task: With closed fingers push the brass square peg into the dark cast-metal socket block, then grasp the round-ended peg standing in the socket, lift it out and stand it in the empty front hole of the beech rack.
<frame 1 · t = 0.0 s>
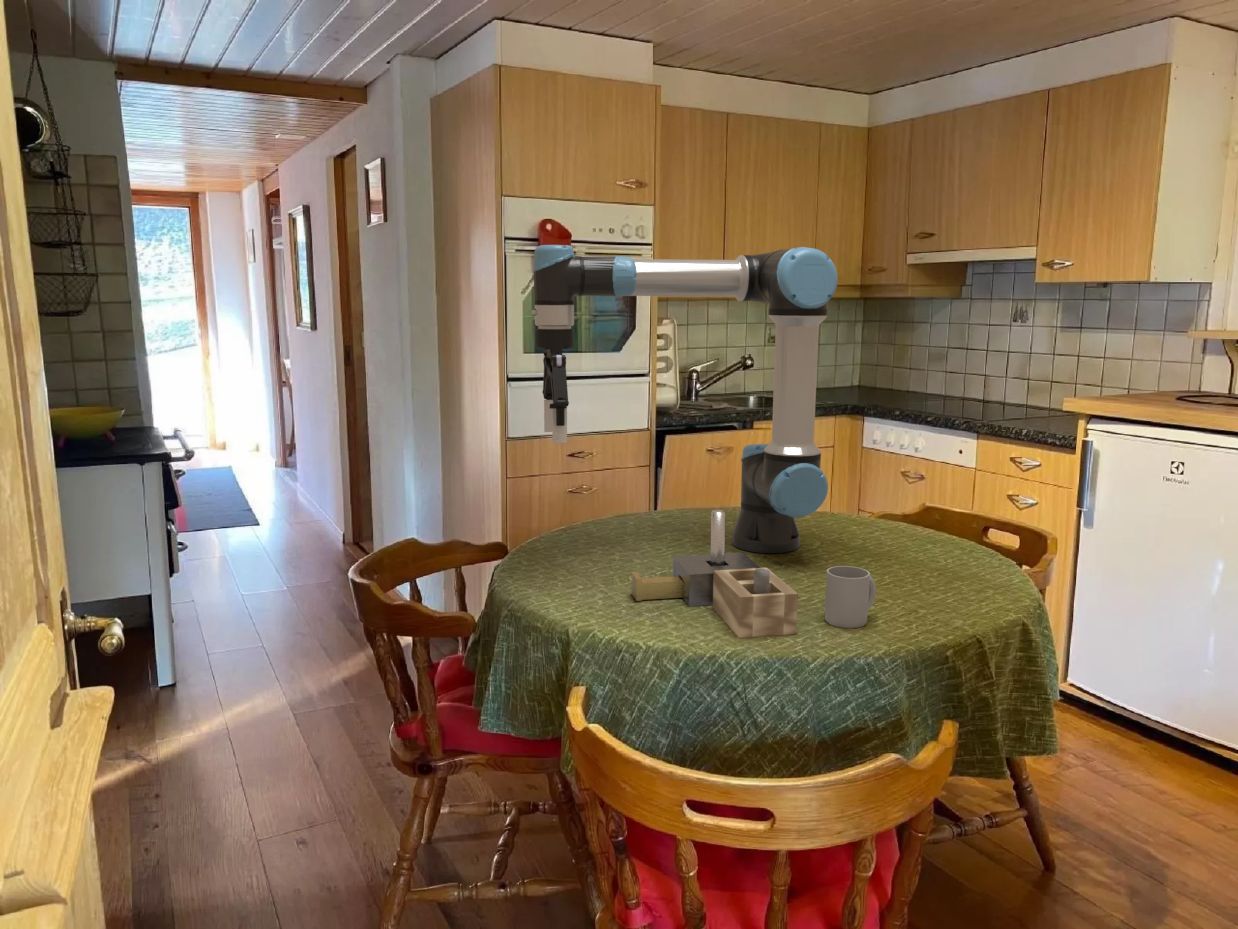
hand: (555, 437, 181), 28 cm above the table, fingers open, 13 cm apart
socket block: (716, 593, 175), on the table
rack: (752, 620, 161), on the table
cup: (851, 621, 161), on the table
brass square peg: (660, 585, 172), point 2 cm above the table, slide at 0.0 cm
round-ended peg: (717, 552, 173), in the socket block
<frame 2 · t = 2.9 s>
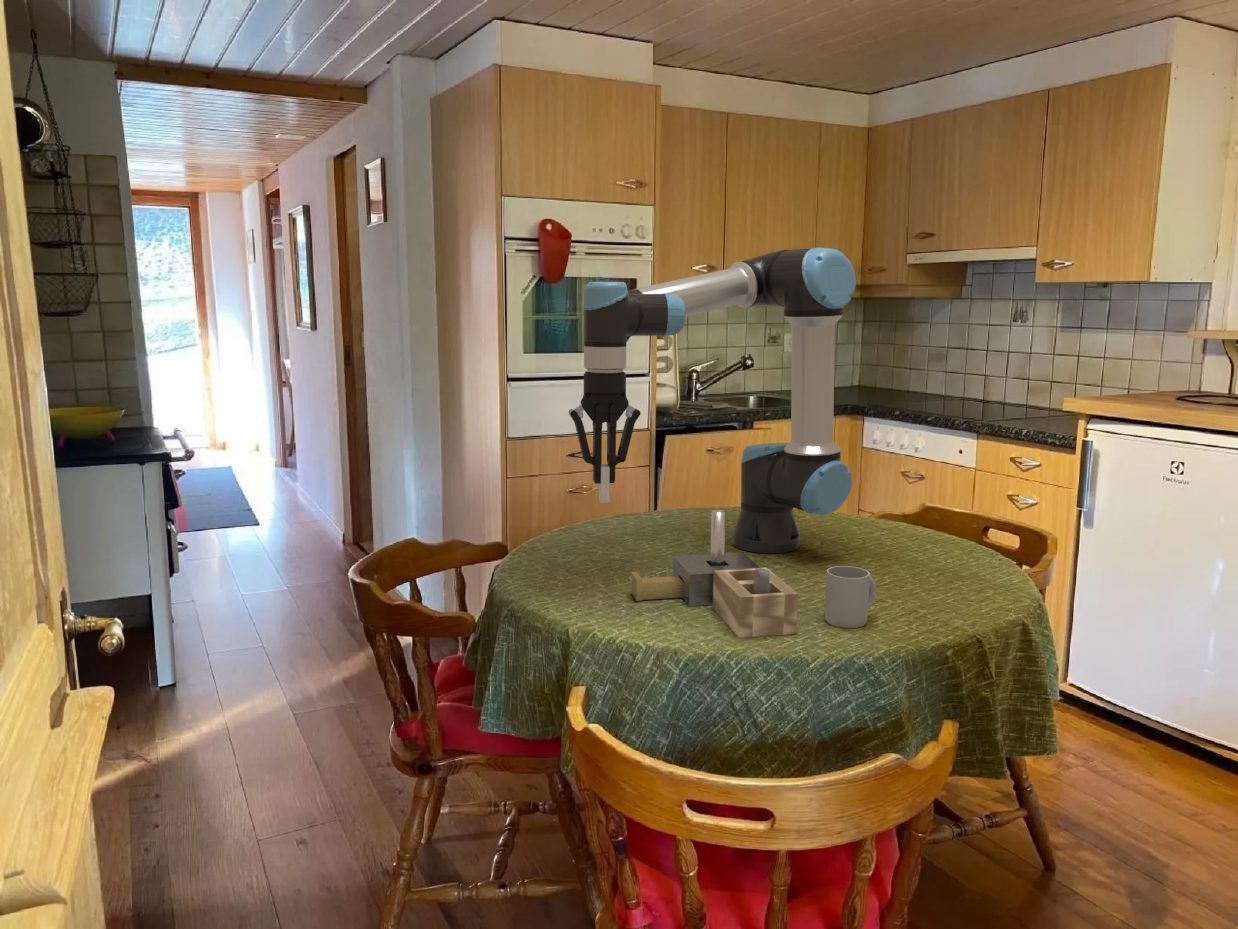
hand: (603, 500, 167), 19 cm above the table, fingers closed
nothing on the table moved.
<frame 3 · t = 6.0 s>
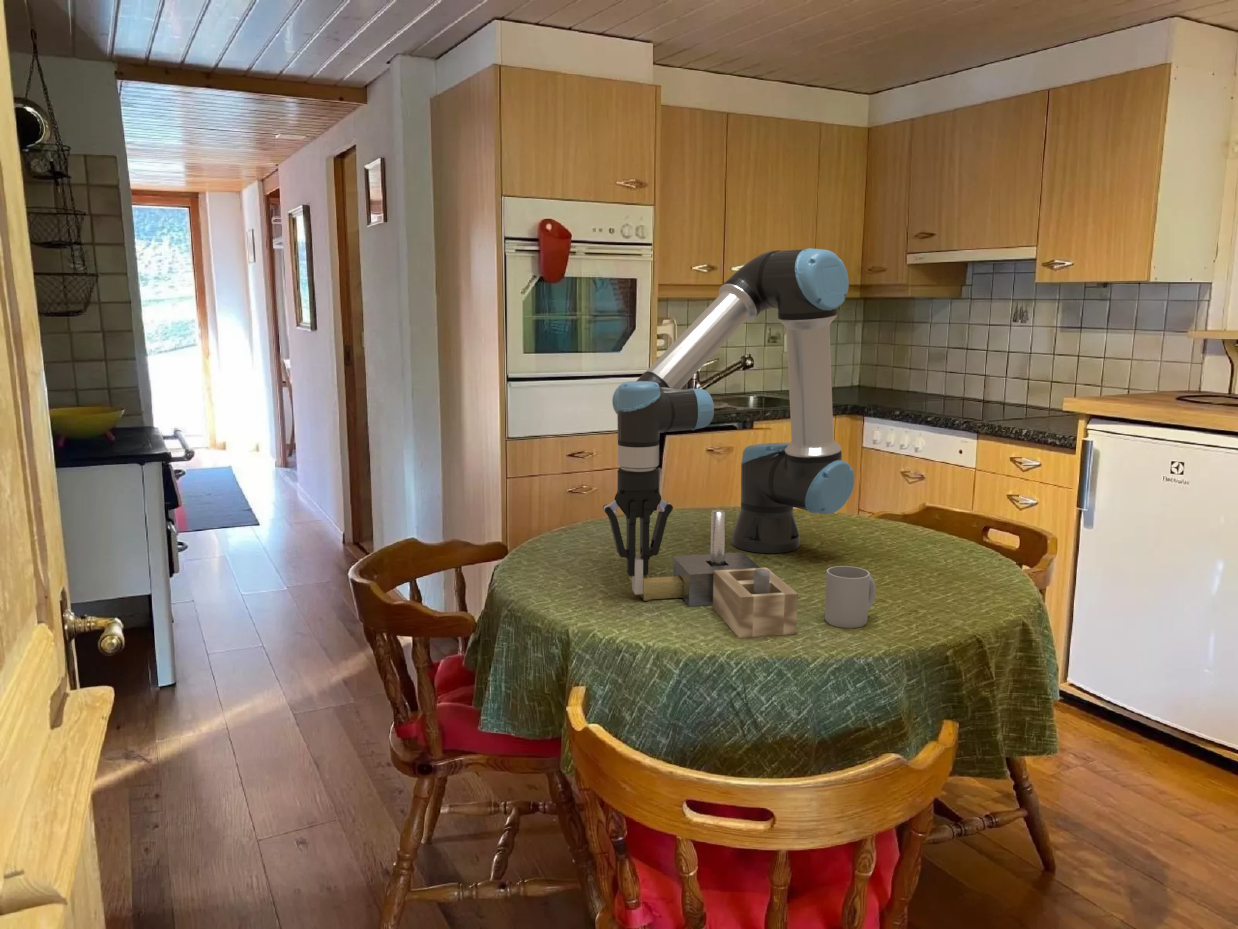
hand: (637, 591, 172), 1 cm above the table, fingers closed
brass square peg: (667, 584, 172), point 2 cm above the table, slide at 1.5 cm, touching gripper
everything else where it was.
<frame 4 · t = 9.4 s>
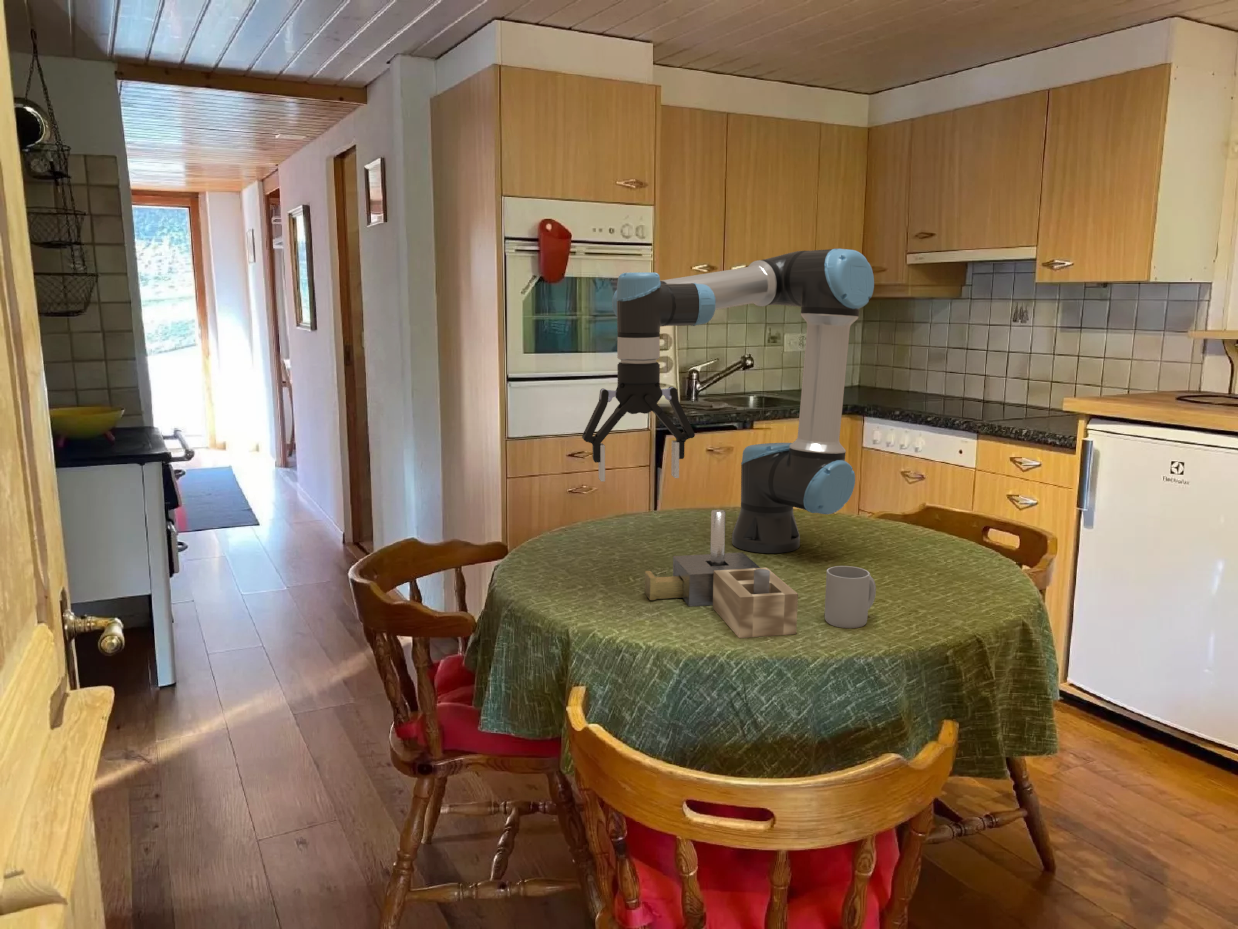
hand: (638, 478, 168), 23 cm above the table, fingers open, 13 cm apart
brass square peg: (673, 584, 173), point 2 cm above the table, slide at 2.6 cm
everything else where it was.
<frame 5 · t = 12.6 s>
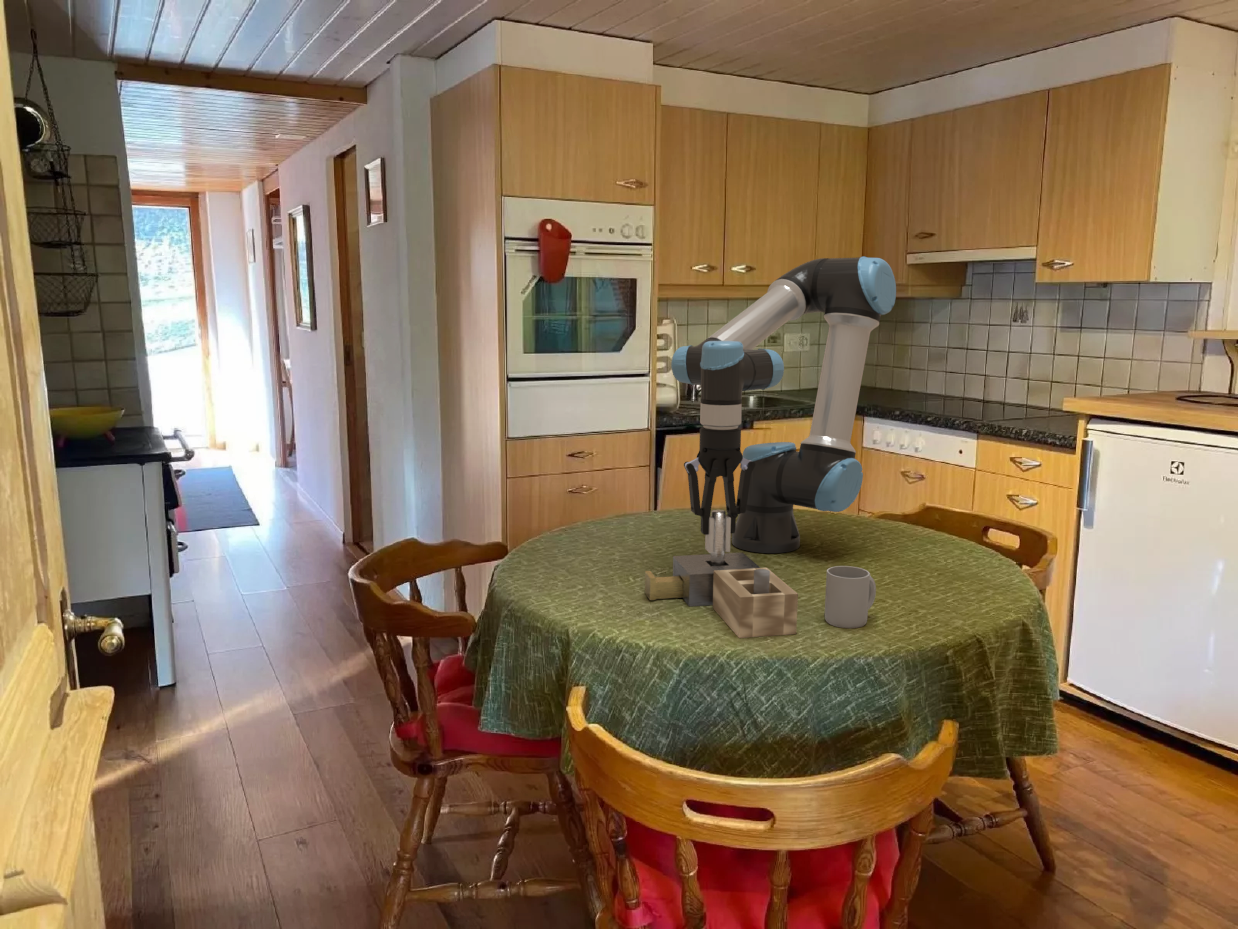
hand: (717, 550, 173), 9 cm above the table, fingers closed on round-ended peg, 3 cm apart
round-ended peg: (717, 552, 173), in the socket block, touching gripper
everything else where it was.
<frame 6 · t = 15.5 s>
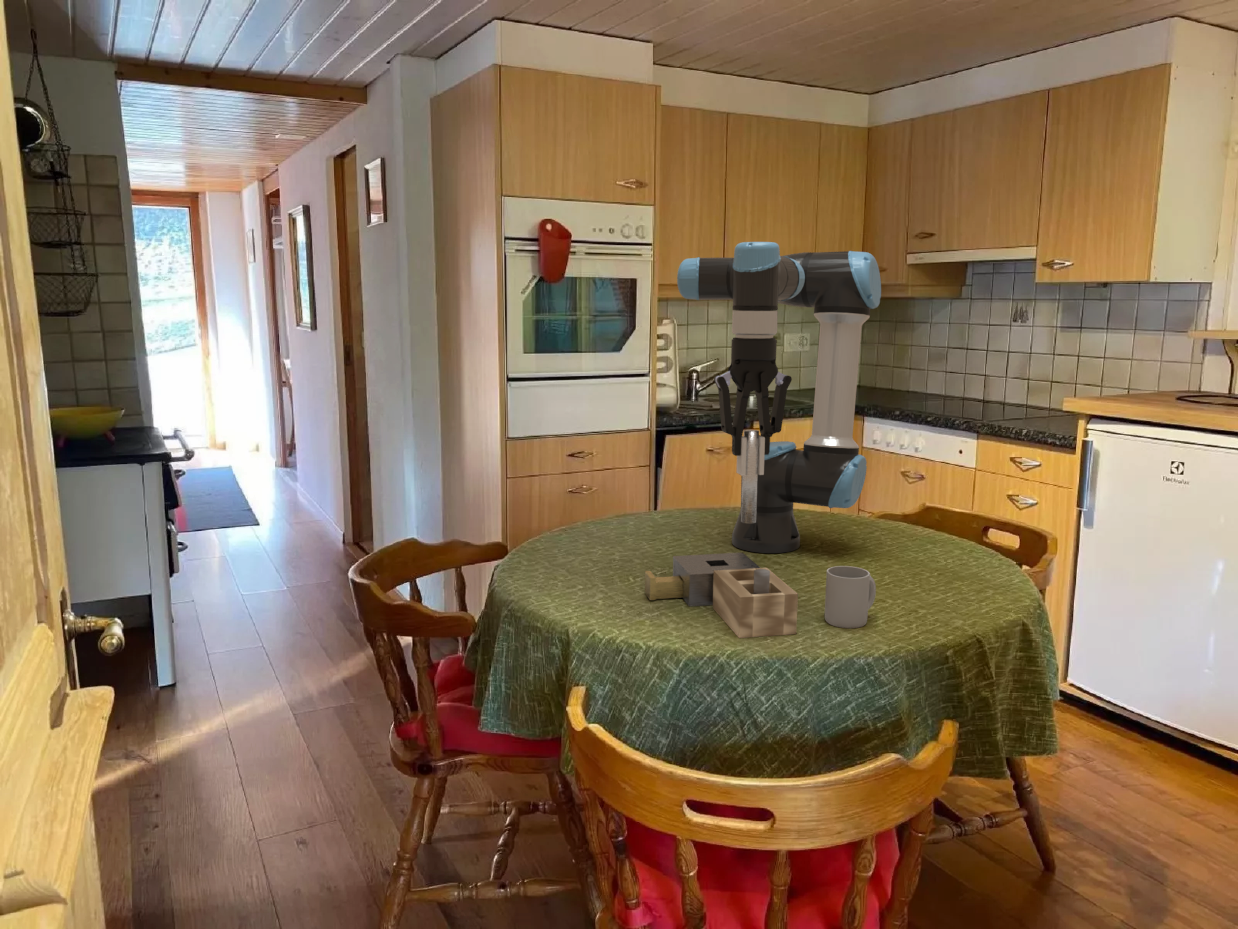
hand: (750, 473, 159), 25 cm above the table, fingers closed on round-ended peg, 3 cm apart
round-ended peg: (749, 476, 159), point 25 cm above the table, touching gripper
everything else where it was.
when the fingers open (10 cm above the table, at t = 18.3 s): round-ended peg drops 1 cm, resting in rack.
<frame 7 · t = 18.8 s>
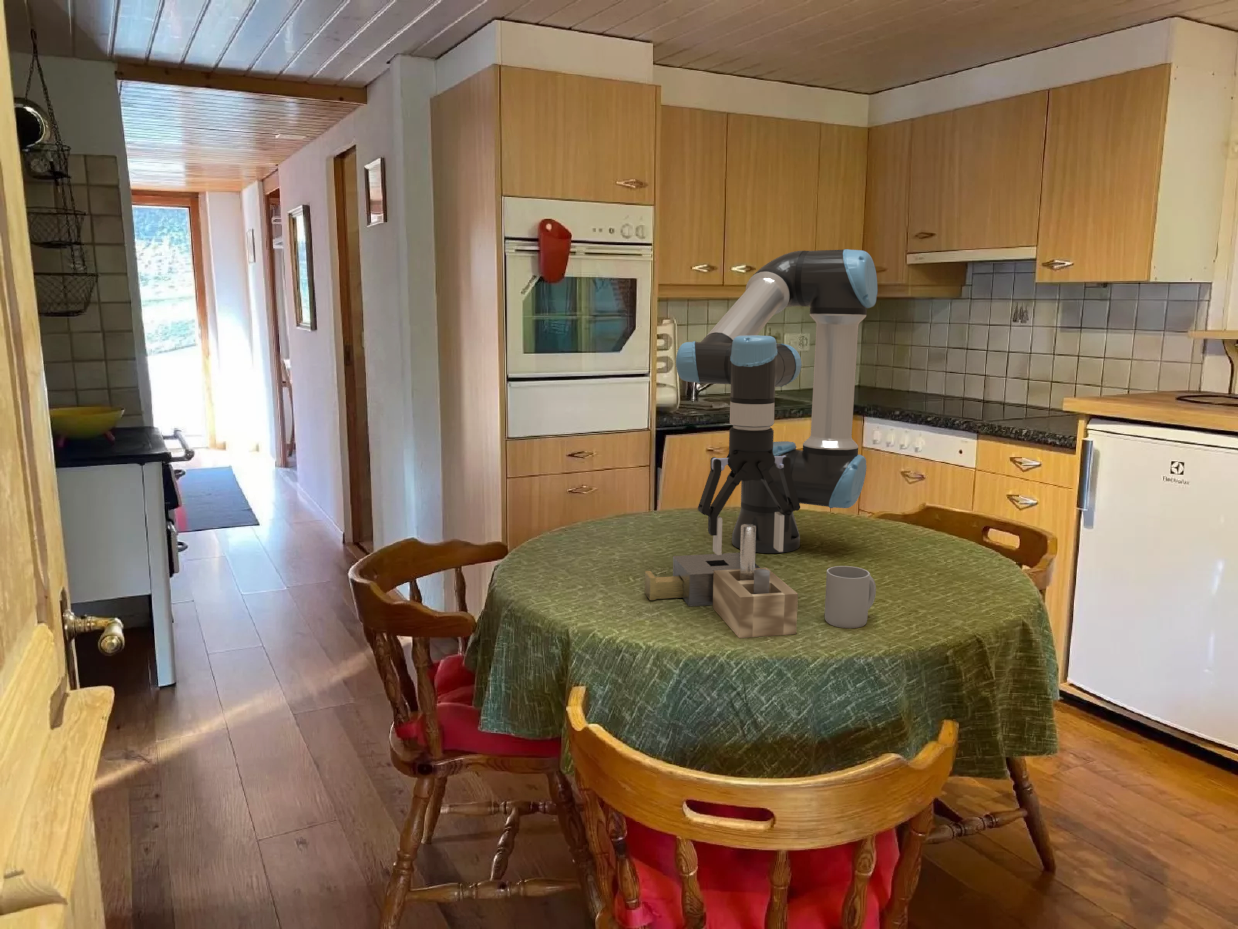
hand: (747, 551, 162), 11 cm above the table, fingers open, 10 cm apart
round-ended peg: (747, 569, 163), resting in rack
everything else where it was.
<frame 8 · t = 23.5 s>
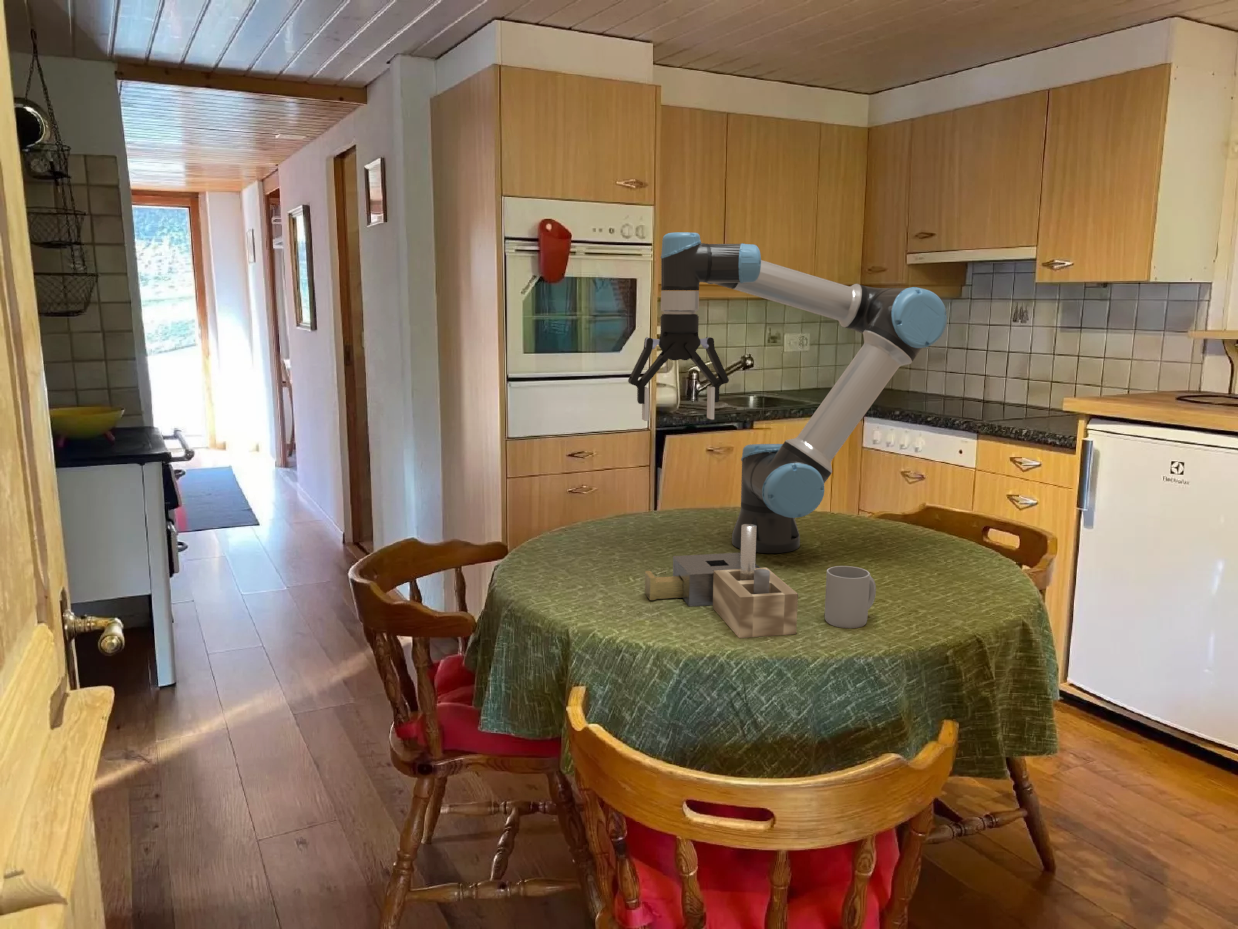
hand: (678, 419, 187), 31 cm above the table, fingers open, 13 cm apart
nothing on the table moved.
at the end: brass square peg slide at 2.6 cm; round-ended peg 0.0 cm from the target spot on the rack, point 8.0 cm above the rack's base; round-ended peg tilted 0° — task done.
